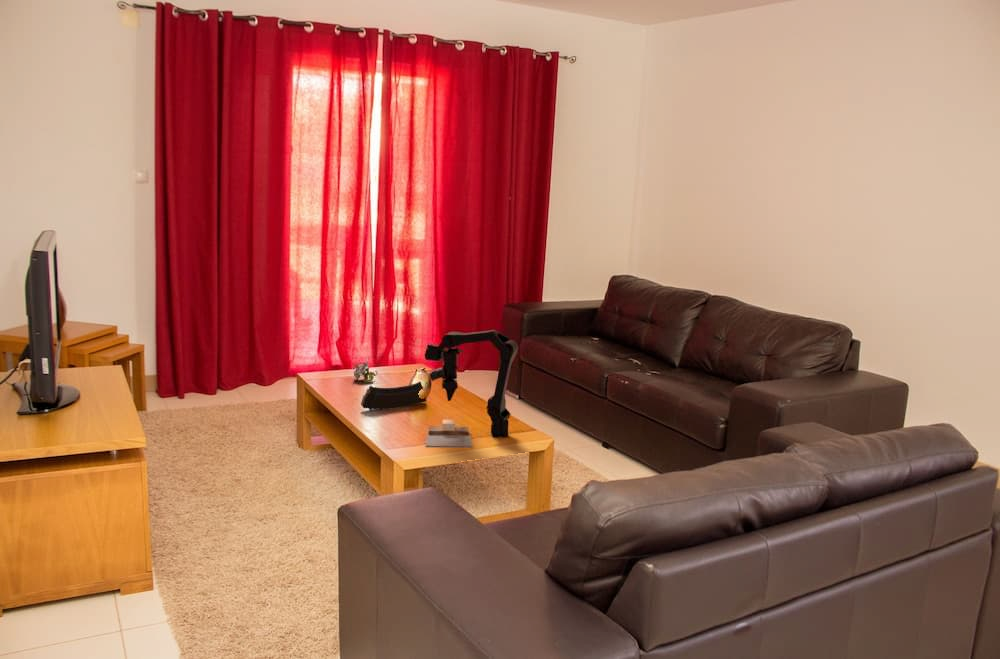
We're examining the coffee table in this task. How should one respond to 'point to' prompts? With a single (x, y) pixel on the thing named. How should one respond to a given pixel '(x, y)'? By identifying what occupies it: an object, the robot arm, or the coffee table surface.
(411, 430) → the coffee table surface
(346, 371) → the coffee table surface
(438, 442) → the mat
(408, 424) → the coffee table surface
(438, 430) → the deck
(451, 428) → the peach square block
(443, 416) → the coffee table surface
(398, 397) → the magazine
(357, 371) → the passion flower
